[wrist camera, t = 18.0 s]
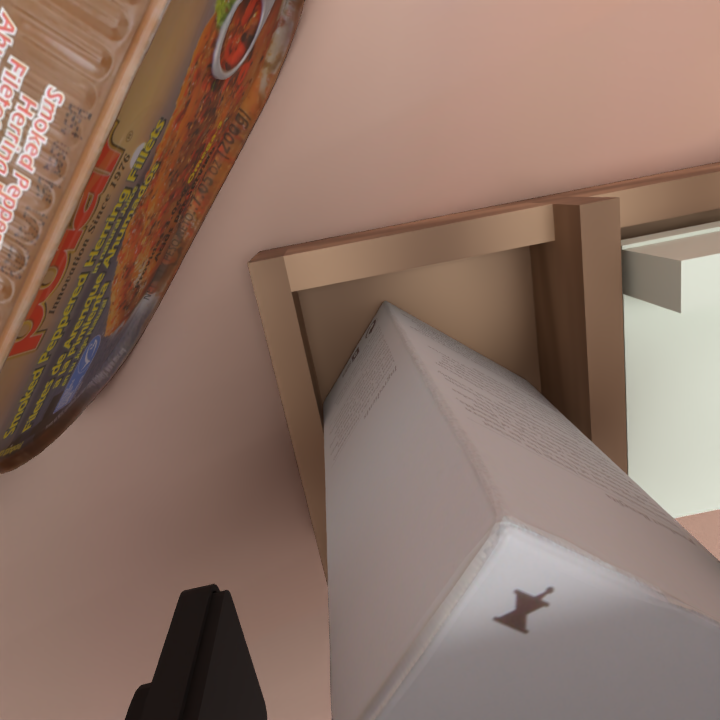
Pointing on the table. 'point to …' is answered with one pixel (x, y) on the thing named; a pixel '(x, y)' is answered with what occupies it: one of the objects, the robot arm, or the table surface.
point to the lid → (673, 366)
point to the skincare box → (498, 553)
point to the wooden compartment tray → (476, 300)
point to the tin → (110, 179)
